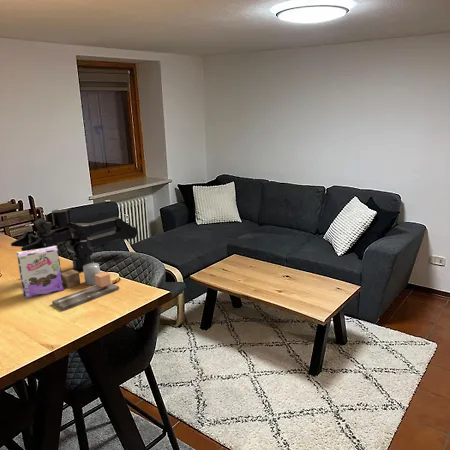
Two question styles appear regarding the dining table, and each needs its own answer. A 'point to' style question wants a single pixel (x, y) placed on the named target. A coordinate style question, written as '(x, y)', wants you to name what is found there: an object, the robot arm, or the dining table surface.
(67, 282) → the walnut block
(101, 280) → the peach cube
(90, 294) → the board
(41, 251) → the candy box
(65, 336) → the dining table surface
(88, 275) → the grey rounded cylinder
